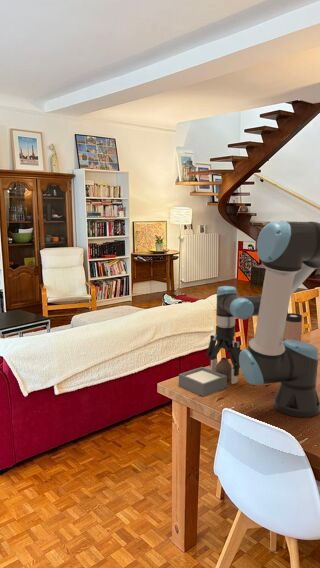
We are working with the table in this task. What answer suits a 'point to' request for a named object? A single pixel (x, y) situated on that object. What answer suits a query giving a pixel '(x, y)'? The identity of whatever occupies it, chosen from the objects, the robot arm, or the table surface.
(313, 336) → the table surface
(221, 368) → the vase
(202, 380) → the gray square tray
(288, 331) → the travel mug
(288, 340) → the robot arm
